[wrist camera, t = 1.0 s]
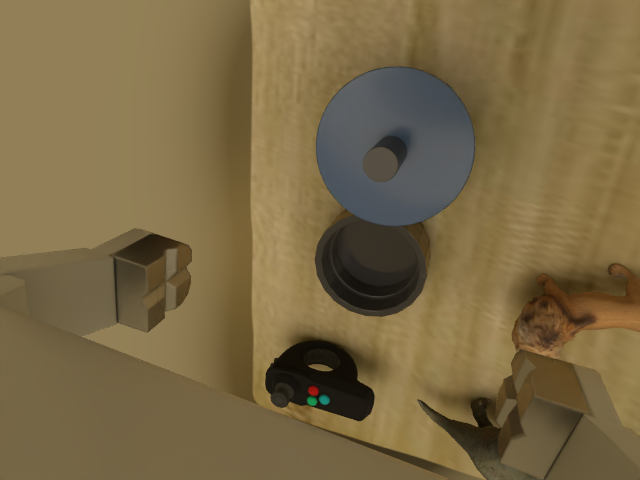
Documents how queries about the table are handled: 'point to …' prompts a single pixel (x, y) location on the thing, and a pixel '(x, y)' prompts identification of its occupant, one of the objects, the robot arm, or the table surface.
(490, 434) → the toy dinosaur
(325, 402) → the controller
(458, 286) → the table surface
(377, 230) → the pan
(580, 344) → the table surface
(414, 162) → the lid
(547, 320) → the lion figurine
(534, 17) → the table surface
